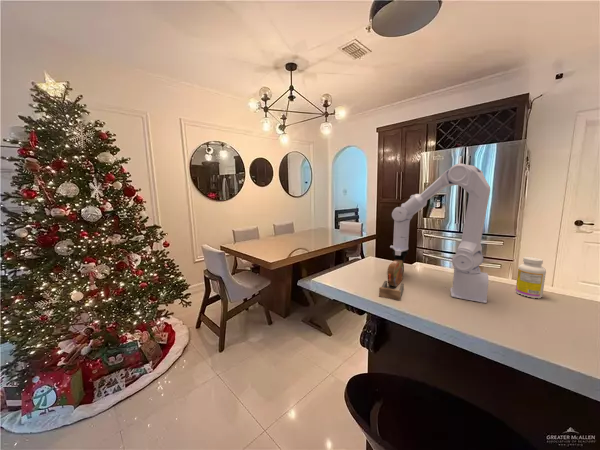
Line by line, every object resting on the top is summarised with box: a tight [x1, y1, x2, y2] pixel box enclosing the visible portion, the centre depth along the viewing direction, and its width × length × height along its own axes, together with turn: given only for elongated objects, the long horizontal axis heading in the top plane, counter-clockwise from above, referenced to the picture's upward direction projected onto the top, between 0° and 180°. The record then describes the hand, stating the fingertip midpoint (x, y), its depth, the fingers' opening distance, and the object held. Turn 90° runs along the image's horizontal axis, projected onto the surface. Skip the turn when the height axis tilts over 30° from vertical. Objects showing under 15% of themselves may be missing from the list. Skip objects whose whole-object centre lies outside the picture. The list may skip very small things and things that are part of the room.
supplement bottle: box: [515, 256, 547, 299], centre depth 80 cm, size 7×7×13 cm
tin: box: [386, 259, 405, 288], centre depth 91 cm, size 15×3×8 cm, turn 143°
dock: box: [378, 280, 405, 301], centre depth 83 cm, size 7×10×3 cm, turn 150°
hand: (399, 268), depth 99 cm, fingers closed
